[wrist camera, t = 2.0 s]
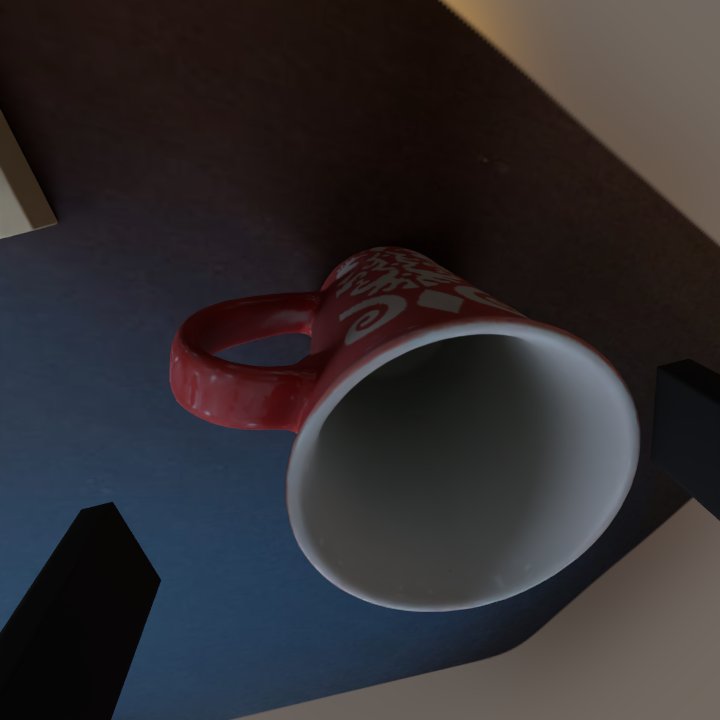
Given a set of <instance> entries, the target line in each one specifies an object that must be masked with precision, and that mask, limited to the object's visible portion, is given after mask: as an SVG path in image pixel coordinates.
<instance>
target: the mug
mask: <svg viewBox="0 0 720 720" xmlns="http://www.w3.org/2000/svg"><path fill="white" fill-rule="evenodd" d="M287 333H304V334H307V335H309V336H310V337H311V338H312V340H311V347H310V355H308V356H306V357H304V358H303V359H302V360H300V361H299V362H298V363H296V364H293V365H288V366H276V367H262V366H251V365H244V364H239V363H233V362H229V361H226V360H223V359H221V358H218V357H215V356H212V355H213V354H215V353H217V352H220V351H223V350H225V349H228V348H231V347H233V346H236V345H241V344H244V343H247V342H250V341H254V340H258V339H263V338H267V337H270V336H274V335H280V334H287ZM170 385H171V389H172V391H173V393H174V396H175V398H176V400H177V402H178V403H179V404H181V405H182V406H183V407H184V408H185V409H186V410H188V411H189V412H191V413H192V414H194V415H196V416H197V417H199V418H201V419H204V420H206V421H208V422H210V423H213V424H217V425H221V426H225V427H231V428H240V429H247V430H268V429H281V430H290V431H294V432H295V433H296V434H297V436H296V438H295V440H294V443H293V446H292V451H291V454H290V457H289V460H288V466H287V473H286V507H287V512H288V517H289V521H290V524H291V528H292V531H293V533H294V536H295V538H296V540H297V542H298V545H299V547H300V549H301V550H302V551H303V553H304V554H305V556H306V557H307V559H308V560H309V561H310V562H311V564H312V565H313V566H314V567H315V568H316V569H317V570H318V571H319V572H320V573H321V574H322V575H323V576H324V577H325V578H327V579H328V580H329V581H330V582H332V583H333V584H334V585H335V586H337V587H339V588H340V589H342V590H344V591H345V592H347V593H349V594H351V595H353V596H355V597H358V598H360V599H363V600H365V601H368V602H370V603H373V604H377V605H380V606H384V607H388V608H394V609H399V610H407V611H416V612H438V611H452V610H460V609H468V608H474V607H478V606H482V605H486V604H490V603H493V602H496V601H500V600H503V599H506V598H509V597H512V596H514V595H517V594H519V593H521V592H523V591H525V590H528V589H530V588H532V587H534V586H536V585H538V584H539V583H541V582H543V581H545V580H546V579H548V578H550V577H551V576H553V575H555V574H556V573H558V572H559V571H561V570H562V569H563V568H565V567H566V566H567V565H569V564H570V563H571V562H573V561H574V560H575V559H577V558H578V557H579V556H581V555H582V554H583V553H584V552H585V551H586V550H587V549H588V548H589V547H590V546H591V545H592V544H593V543H594V542H595V541H596V540H597V539H598V538H599V537H600V536H601V535H602V534H603V532H604V531H605V530H606V528H607V527H608V526H609V524H610V523H611V521H612V520H613V519H614V517H615V516H616V514H617V513H618V511H619V509H620V508H621V506H622V504H623V502H624V500H625V498H626V496H627V494H628V492H629V490H630V488H631V485H632V482H633V479H634V476H635V473H636V469H637V464H638V460H639V452H640V423H639V418H638V413H637V409H636V407H635V403H634V400H633V397H632V395H631V393H630V391H629V389H628V387H627V385H626V383H625V382H624V380H623V379H622V377H621V376H620V374H619V373H618V371H617V370H616V368H615V367H614V366H613V365H612V364H611V363H610V362H609V361H608V359H607V358H606V357H605V356H604V355H603V354H601V353H600V352H599V351H598V350H596V349H595V348H594V347H593V346H591V345H590V344H589V343H587V342H585V341H584V340H582V339H581V338H579V337H577V336H575V335H573V334H571V333H570V332H568V331H565V330H563V329H560V328H558V327H555V326H553V325H549V324H546V323H542V322H539V321H535V320H531V319H528V318H527V317H525V316H524V315H522V314H521V313H519V312H517V311H516V310H514V309H513V308H511V307H509V306H508V305H506V304H504V303H503V302H501V301H499V300H497V299H496V298H494V297H492V296H490V295H488V294H486V293H485V292H483V291H481V290H480V289H478V288H476V287H474V286H473V285H471V284H470V283H468V282H467V281H466V280H464V279H463V278H461V277H459V276H457V275H455V274H453V273H451V272H450V271H448V270H447V269H445V268H443V267H441V266H440V265H438V264H437V263H436V262H434V261H433V260H431V259H430V258H428V257H426V256H425V255H423V254H421V253H418V252H416V251H413V250H410V249H406V248H402V247H394V246H385V247H376V248H370V249H367V250H364V251H361V252H359V253H356V254H354V255H352V256H351V257H349V258H348V259H346V260H345V261H343V262H342V263H341V264H339V265H338V266H337V267H336V268H335V269H334V270H333V271H332V272H331V274H330V275H329V276H328V278H327V279H326V281H325V282H324V284H323V286H322V288H321V290H320V291H317V292H305V293H280V294H269V295H260V296H252V297H246V298H240V299H234V300H228V301H224V302H221V303H218V304H214V305H211V306H209V307H206V308H204V309H201V310H199V311H198V312H196V313H194V314H193V315H191V316H190V317H189V318H187V319H186V320H185V321H184V322H183V324H182V325H181V326H180V328H179V329H178V331H177V332H176V335H175V337H174V340H173V343H172V347H171V354H170Z"/></svg>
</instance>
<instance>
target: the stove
mask: <svg viewBox="0 0 720 720" xmlns="http://www.w3.org/2000/svg"><path fill="white" fill-rule="evenodd" d="M57 223H58V221H57V219H56V217H55V215H54V213H53V212H52V210H51V208H50V206H49V204H48V202H47V200H46V198H45V196H44V194H43V192H42V190H41V188H40V186H39V184H38V182H37V180H36V178H35V176H34V174H33V172H32V170H31V168H30V166H29V164H28V162H27V160H26V159H25V157H24V155H23V153H22V151H21V149H20V147H19V145H18V143H17V141H16V139H15V137H14V135H13V133H12V131H11V129H10V127H9V125H8V123H7V121H6V119H5V117H4V115H3V113H2V111H1V109H0V239H2V238H6V237H10V236H14V235H17V234H21V233H25V232H29V231H33V230H37V229H41V228H44V227H48V226H52V225H55V224H57Z"/></svg>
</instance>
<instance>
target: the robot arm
mask: <svg viewBox="0 0 720 720" xmlns="http://www.w3.org/2000/svg"><path fill="white" fill-rule="evenodd" d="M651 460H652V461H653V462H654V463H656V464H657V465H658V466H659V467H660V468H661V469H662V470H663V471H664V472H666V473H667V474H668V475H669V476H670V477H671V478H672V479H673V480H675V481H676V482H677V483H678V484H679V485H680V486H681V487H682V488H684V489H685V490H686V491H687V492H688V493H689V494H690V495H691V496H692V497H694V498H695V499H696V500H697V501H698V502H699V503H700V504H702V505H703V506H704V507H705V508H706V509H707V510H708V511H709V512H710V513H712V514H713V515H714V516H715V517H716V518H717V519H718V520H720V375H719V374H717V373H715V372H714V371H712V370H710V369H708V368H706V367H704V366H702V365H701V364H699V363H697V362H695V361H693V360H691V359H686V360H682V361H678V362H674V363H670V364H666V365H662V366H658V367H657V380H656V394H655V409H654V423H653V437H652V452H651ZM160 582H161V579H160V578H159V576H158V574H157V573H156V571H155V569H154V568H153V566H152V565H151V563H150V561H149V560H148V558H147V556H146V555H145V553H144V552H143V550H142V548H141V547H140V545H139V543H138V542H137V540H136V539H135V537H134V535H133V534H132V532H131V531H130V529H129V527H128V526H127V524H126V522H125V521H124V519H123V518H122V516H121V514H120V513H119V511H118V509H117V508H116V506H115V505H114V503H113V502H110V503H106V504H102V505H98V506H94V507H90V508H86V509H82V510H81V511H80V512H79V514H78V515H77V517H76V518H75V520H74V522H73V523H72V525H71V526H70V528H69V529H68V531H67V532H66V534H65V535H64V537H63V538H62V540H61V541H60V543H59V544H58V546H57V547H56V549H55V550H54V552H53V553H52V555H51V556H50V558H49V559H48V561H47V562H46V564H45V566H44V567H43V569H42V570H41V572H40V573H39V575H38V576H37V578H36V579H35V581H34V582H33V584H32V585H31V587H30V588H29V590H28V591H27V593H26V594H25V596H24V597H23V599H22V600H21V602H20V603H19V605H18V607H17V608H16V610H15V611H14V613H13V614H12V616H11V617H10V619H9V620H8V622H7V623H6V625H5V626H4V628H3V629H2V631H1V632H0V720H111V718H112V715H113V713H114V710H115V707H116V704H117V701H118V699H119V696H120V693H121V690H122V688H123V685H124V682H125V679H126V676H127V674H128V671H129V668H130V665H131V663H132V660H133V657H134V654H135V651H136V649H137V646H138V643H139V640H140V637H141V635H142V632H143V629H144V626H145V624H146V621H147V618H148V615H149V612H150V610H151V607H152V604H153V601H154V599H155V596H156V593H157V590H158V587H159V585H160Z"/></svg>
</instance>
